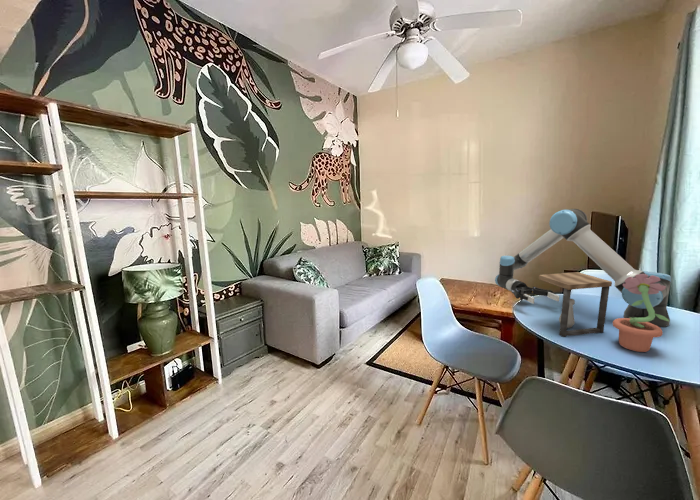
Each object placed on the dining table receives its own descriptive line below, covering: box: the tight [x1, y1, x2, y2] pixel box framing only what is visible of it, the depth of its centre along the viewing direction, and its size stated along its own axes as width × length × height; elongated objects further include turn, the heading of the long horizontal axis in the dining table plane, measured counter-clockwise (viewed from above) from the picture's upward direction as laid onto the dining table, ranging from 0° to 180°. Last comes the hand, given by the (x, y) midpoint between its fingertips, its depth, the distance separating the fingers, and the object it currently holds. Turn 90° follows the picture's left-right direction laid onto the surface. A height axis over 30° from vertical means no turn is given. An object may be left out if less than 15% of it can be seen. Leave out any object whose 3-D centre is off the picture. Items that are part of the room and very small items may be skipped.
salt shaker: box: [558, 297, 576, 329], centre depth 133 cm, size 6×6×13 cm
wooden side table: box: [538, 271, 613, 338], centre depth 131 cm, size 20×16×23 cm
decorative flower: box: [612, 274, 671, 353], centre depth 111 cm, size 15×14×30 cm
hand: (546, 299), depth 145 cm, fingers open, 13 cm apart
